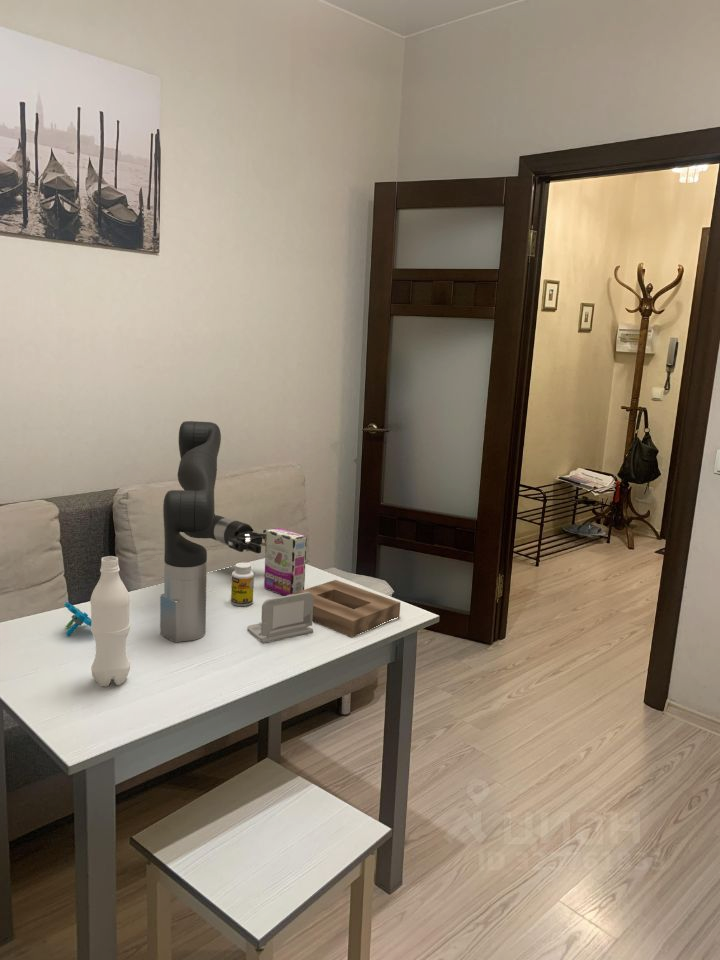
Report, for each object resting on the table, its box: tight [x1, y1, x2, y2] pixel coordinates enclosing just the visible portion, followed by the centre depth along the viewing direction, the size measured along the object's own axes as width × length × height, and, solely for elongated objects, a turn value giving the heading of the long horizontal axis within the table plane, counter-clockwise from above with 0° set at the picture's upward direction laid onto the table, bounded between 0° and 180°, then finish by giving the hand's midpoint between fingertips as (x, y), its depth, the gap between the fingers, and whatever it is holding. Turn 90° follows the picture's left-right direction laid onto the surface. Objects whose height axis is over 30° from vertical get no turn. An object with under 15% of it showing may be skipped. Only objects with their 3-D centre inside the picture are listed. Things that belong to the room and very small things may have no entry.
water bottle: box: [89, 555, 131, 688], centre depth 142 cm, size 7×7×25 cm
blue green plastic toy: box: [64, 601, 91, 637], centre depth 164 cm, size 11×6×10 cm
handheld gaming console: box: [246, 592, 314, 644], centre depth 171 cm, size 13×9×10 cm
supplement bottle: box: [230, 562, 255, 607], centre depth 187 cm, size 6×6×10 cm
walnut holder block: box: [287, 579, 401, 638], centre depth 184 cm, size 18×22×4 cm
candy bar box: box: [263, 527, 308, 596], centre depth 196 cm, size 11×5×16 cm, turn 49°
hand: (272, 546), depth 199 cm, fingers open, 8 cm apart
